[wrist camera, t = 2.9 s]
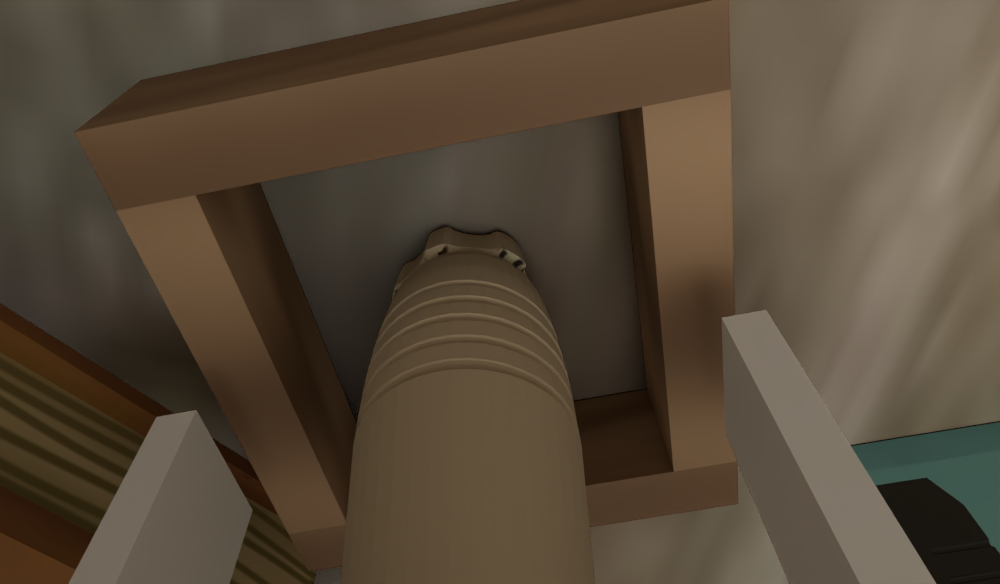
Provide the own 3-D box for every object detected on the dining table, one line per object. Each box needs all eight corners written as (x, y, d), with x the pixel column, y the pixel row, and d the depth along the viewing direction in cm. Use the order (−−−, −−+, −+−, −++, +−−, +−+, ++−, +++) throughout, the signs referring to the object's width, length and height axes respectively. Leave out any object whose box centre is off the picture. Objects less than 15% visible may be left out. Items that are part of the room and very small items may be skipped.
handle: (417, 122, 15) (195, 1441, 3) (632, 279, 18) (1034, 1383, 5) (300, 275, 17) (-147, 1468, 5) (507, 399, 20) (578, 1417, 7)
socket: (141, 80, 15) (73, 132, 12) (681, -34, 14) (729, -3, 11) (327, 483, 21) (308, 571, 19) (704, 419, 20) (737, 503, 18)
